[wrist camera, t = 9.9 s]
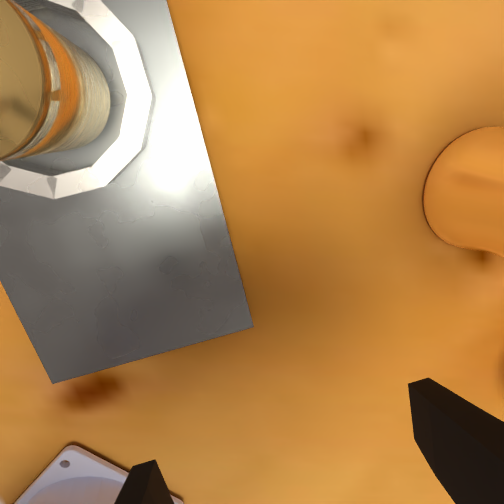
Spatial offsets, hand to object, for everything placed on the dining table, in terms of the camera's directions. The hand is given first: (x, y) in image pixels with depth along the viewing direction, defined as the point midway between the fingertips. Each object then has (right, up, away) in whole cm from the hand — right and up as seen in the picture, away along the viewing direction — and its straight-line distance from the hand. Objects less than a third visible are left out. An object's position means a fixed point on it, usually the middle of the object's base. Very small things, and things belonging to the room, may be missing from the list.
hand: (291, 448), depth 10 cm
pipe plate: (-8, +9, +6) cm, 13 cm away
